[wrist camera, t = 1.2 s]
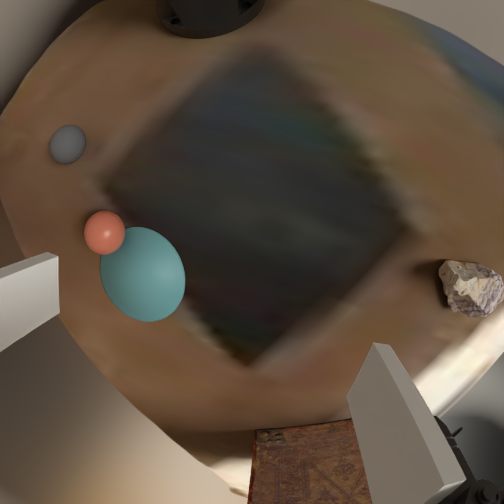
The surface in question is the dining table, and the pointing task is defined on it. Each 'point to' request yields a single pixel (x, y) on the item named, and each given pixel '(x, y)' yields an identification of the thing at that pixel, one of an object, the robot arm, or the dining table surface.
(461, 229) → the dining table surface
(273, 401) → the dining table surface
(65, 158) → the gray ball
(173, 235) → the dining table surface
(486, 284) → the mineral specimen
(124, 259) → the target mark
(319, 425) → the book
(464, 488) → the robot arm
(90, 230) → the object ball
